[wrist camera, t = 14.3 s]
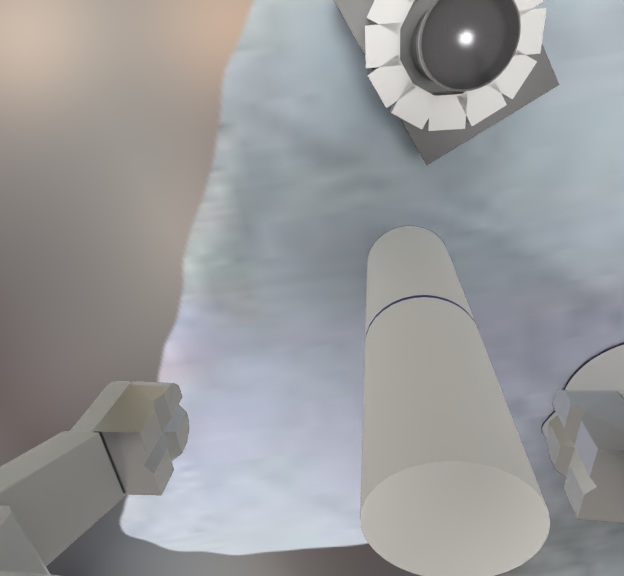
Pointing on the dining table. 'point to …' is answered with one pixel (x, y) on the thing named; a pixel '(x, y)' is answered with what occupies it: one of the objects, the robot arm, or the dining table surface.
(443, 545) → the cylindrical container
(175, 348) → the dining table surface
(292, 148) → the dining table surface
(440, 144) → the camera body
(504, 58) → the lens
